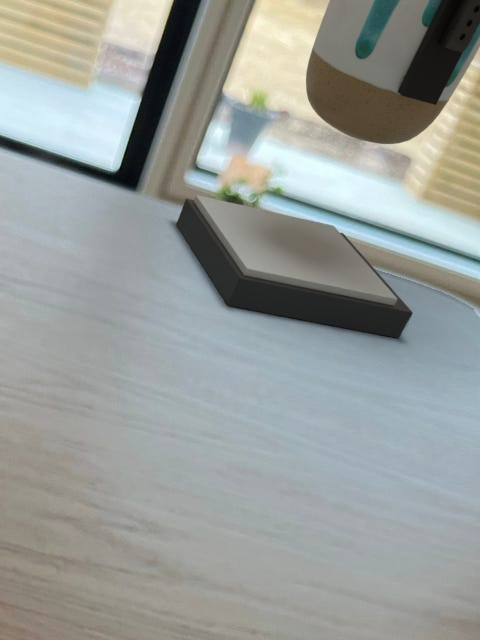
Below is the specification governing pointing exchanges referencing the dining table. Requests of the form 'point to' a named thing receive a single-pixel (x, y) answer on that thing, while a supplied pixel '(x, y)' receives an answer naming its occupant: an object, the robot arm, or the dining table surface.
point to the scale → (289, 267)
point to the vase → (375, 68)
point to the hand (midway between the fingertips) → (381, 70)
